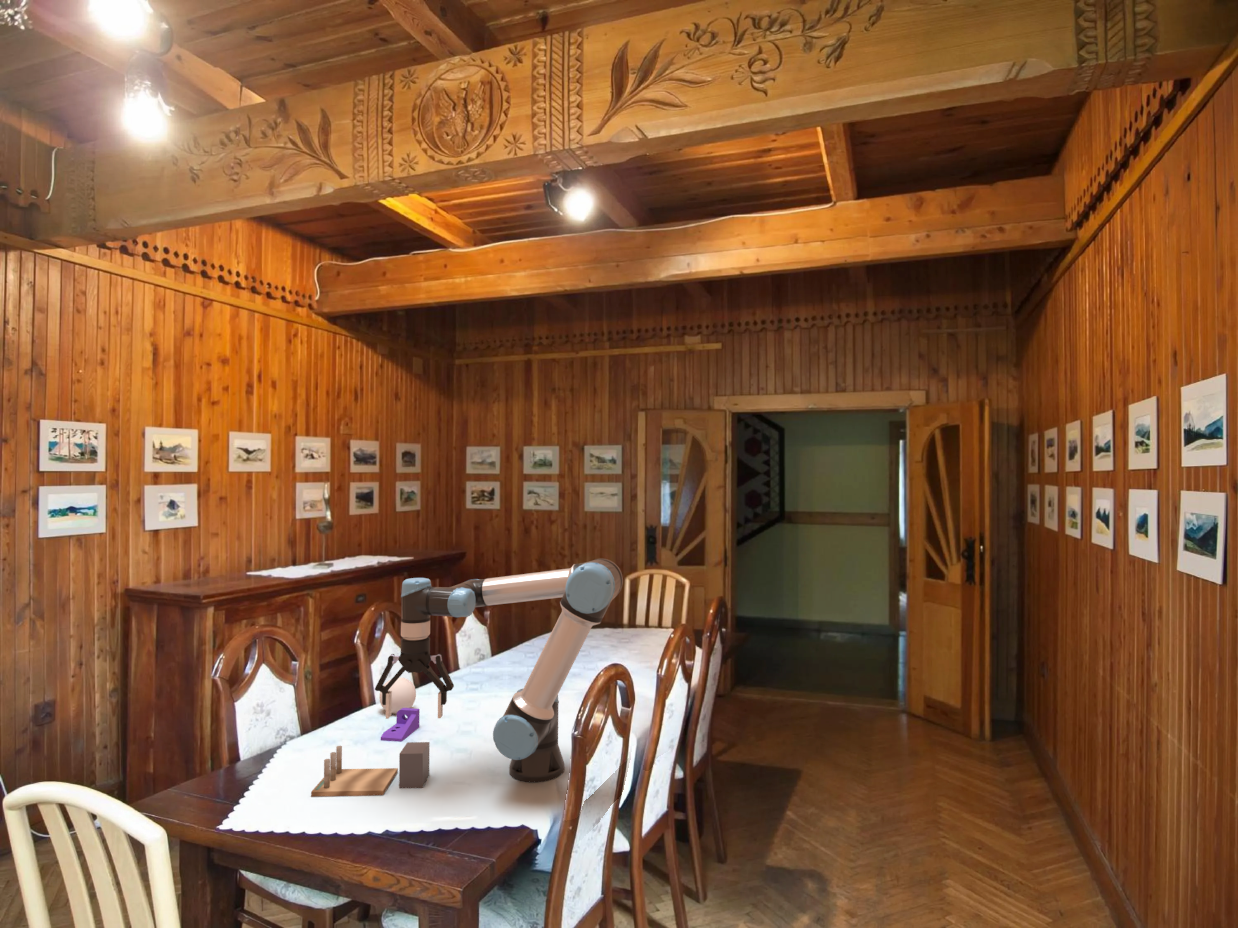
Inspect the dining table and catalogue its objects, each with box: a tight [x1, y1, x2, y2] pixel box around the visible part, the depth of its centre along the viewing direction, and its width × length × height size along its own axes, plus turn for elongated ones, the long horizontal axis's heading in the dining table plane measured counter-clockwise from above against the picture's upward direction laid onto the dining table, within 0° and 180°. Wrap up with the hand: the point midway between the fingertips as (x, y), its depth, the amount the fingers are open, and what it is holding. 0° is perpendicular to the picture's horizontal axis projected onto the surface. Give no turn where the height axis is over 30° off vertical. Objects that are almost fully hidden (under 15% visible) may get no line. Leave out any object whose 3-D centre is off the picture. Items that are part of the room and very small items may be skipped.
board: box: [310, 745, 399, 798], centre depth 189 cm, size 18×14×8 cm
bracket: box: [380, 707, 420, 743], centre depth 225 cm, size 12×7×7 cm, turn 170°
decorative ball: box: [379, 677, 417, 715], centre depth 246 cm, size 12×12×12 cm
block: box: [398, 741, 431, 789], centre depth 191 cm, size 6×8×9 cm
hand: (414, 716), depth 191 cm, fingers open, 13 cm apart
